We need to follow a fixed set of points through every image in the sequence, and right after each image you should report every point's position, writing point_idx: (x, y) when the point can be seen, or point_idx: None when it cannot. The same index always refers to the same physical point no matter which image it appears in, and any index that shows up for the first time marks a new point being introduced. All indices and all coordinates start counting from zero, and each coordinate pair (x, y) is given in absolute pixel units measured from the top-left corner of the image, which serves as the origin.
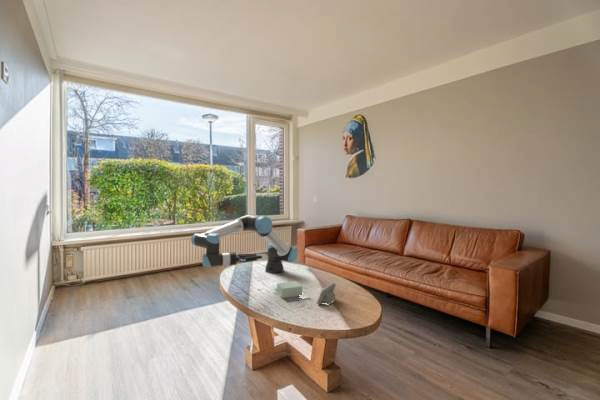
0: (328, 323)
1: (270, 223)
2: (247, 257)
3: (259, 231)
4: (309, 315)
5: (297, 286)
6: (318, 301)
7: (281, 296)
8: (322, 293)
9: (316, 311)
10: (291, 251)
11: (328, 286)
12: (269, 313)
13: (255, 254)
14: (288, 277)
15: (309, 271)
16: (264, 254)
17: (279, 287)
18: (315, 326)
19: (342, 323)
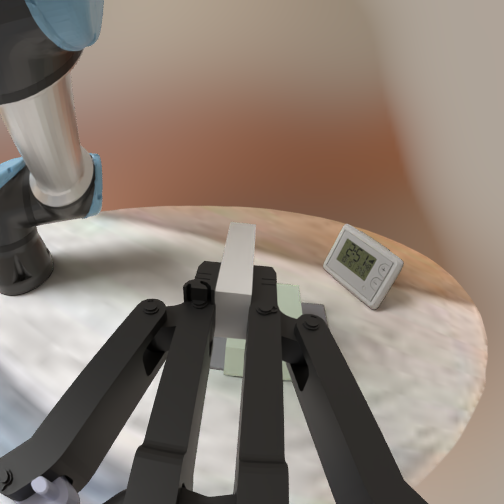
0: (465, 329)
1: None
2: (372, 457)
3: (45, 22)
4: (434, 350)
5: (297, 298)
6: (382, 299)
7: (289, 378)
8: (399, 272)
9: (411, 328)
10: (99, 169)
11: (376, 242)
12: (418, 459)
13: (212, 296)
14: (106, 273)
15: (115, 220)
16: (253, 235)
17: None
18: (481, 356)
19: (460, 308)
